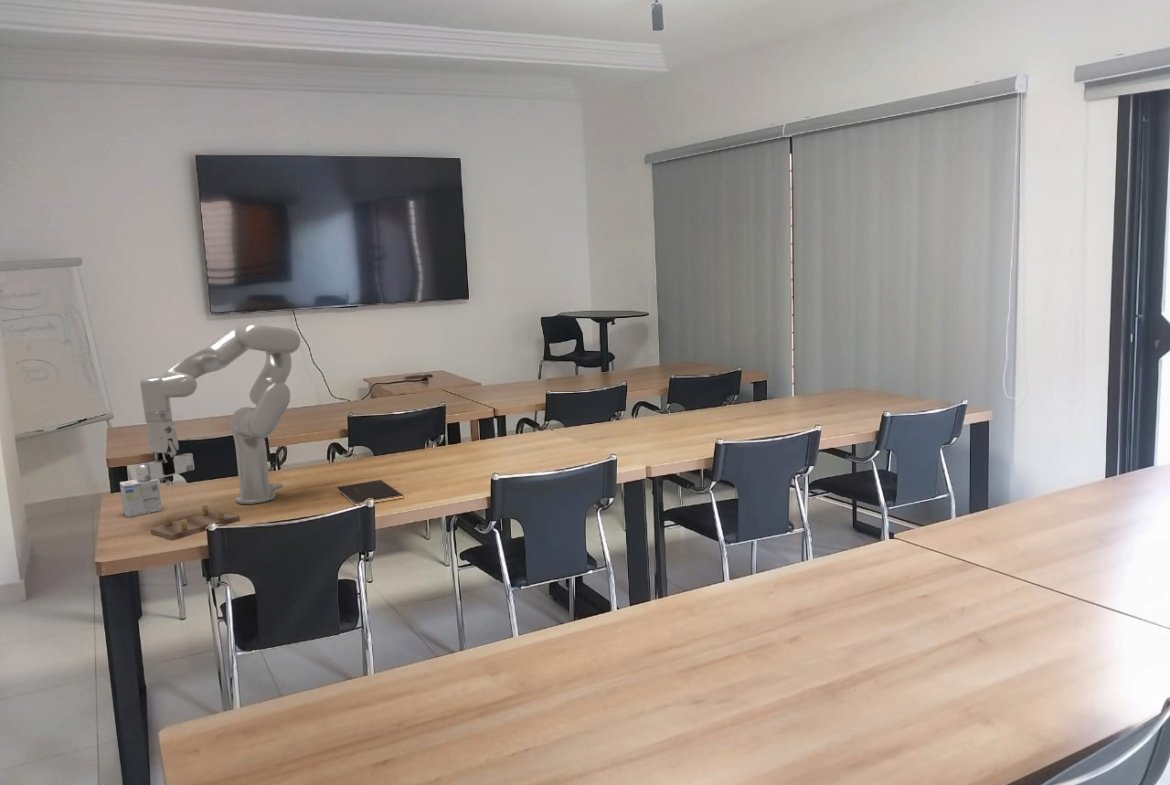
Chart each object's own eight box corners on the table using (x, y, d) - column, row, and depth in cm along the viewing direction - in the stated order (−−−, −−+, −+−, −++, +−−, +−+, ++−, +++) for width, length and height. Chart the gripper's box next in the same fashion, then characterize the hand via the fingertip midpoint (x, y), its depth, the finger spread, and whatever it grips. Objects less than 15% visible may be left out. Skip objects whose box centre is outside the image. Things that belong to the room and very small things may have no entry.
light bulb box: (157, 506, 295) (154, 475, 293) (162, 510, 290) (159, 479, 288) (122, 513, 288) (118, 481, 287) (127, 517, 283) (123, 485, 281)
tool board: (218, 514, 282) (216, 501, 282) (239, 520, 275) (238, 506, 275) (150, 533, 265) (149, 519, 264) (172, 540, 258) (170, 525, 257)
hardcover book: (355, 508, 285) (355, 501, 285) (337, 493, 305) (336, 487, 305) (403, 500, 293) (402, 493, 293) (382, 485, 313) (382, 479, 312)
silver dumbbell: (190, 467, 285) (188, 452, 285) (196, 469, 283) (194, 454, 282) (134, 481, 271) (132, 465, 270) (141, 483, 269) (139, 467, 268)
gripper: (184, 416, 272) (192, 473, 275) (156, 412, 282) (164, 467, 285) (160, 420, 266) (168, 479, 269) (133, 416, 276) (141, 473, 279)
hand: (166, 473), depth 277 cm, fingers closed on silver dumbbell, 3 cm apart
